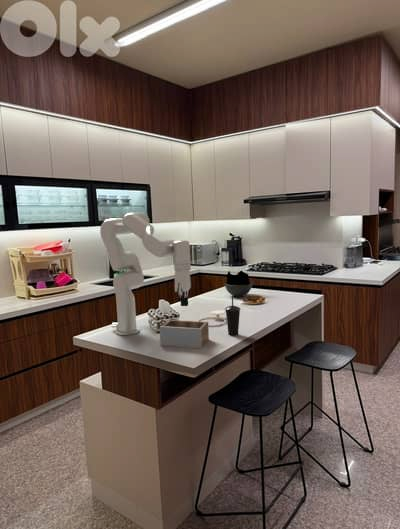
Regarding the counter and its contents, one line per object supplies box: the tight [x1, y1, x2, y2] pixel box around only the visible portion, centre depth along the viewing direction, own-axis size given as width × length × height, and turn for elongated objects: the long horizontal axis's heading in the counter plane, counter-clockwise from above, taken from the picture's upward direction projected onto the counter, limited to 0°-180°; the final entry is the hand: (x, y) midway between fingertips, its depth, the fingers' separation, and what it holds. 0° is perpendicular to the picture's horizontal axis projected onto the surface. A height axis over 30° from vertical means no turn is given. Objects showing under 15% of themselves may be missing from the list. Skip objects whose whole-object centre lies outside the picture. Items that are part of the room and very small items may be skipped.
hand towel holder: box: [196, 309, 227, 328], centre depth 209 cm, size 17×4×21 cm
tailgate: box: [159, 325, 203, 349], centre depth 170 cm, size 20×1×9 cm, turn 73°
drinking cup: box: [224, 295, 241, 337], centre depth 184 cm, size 8×8×20 cm
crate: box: [161, 319, 210, 348], centre depth 176 cm, size 20×11×9 cm, turn 73°
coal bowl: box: [224, 270, 253, 298], centre depth 270 cm, size 20×20×19 cm
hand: (184, 305), depth 173 cm, fingers closed
